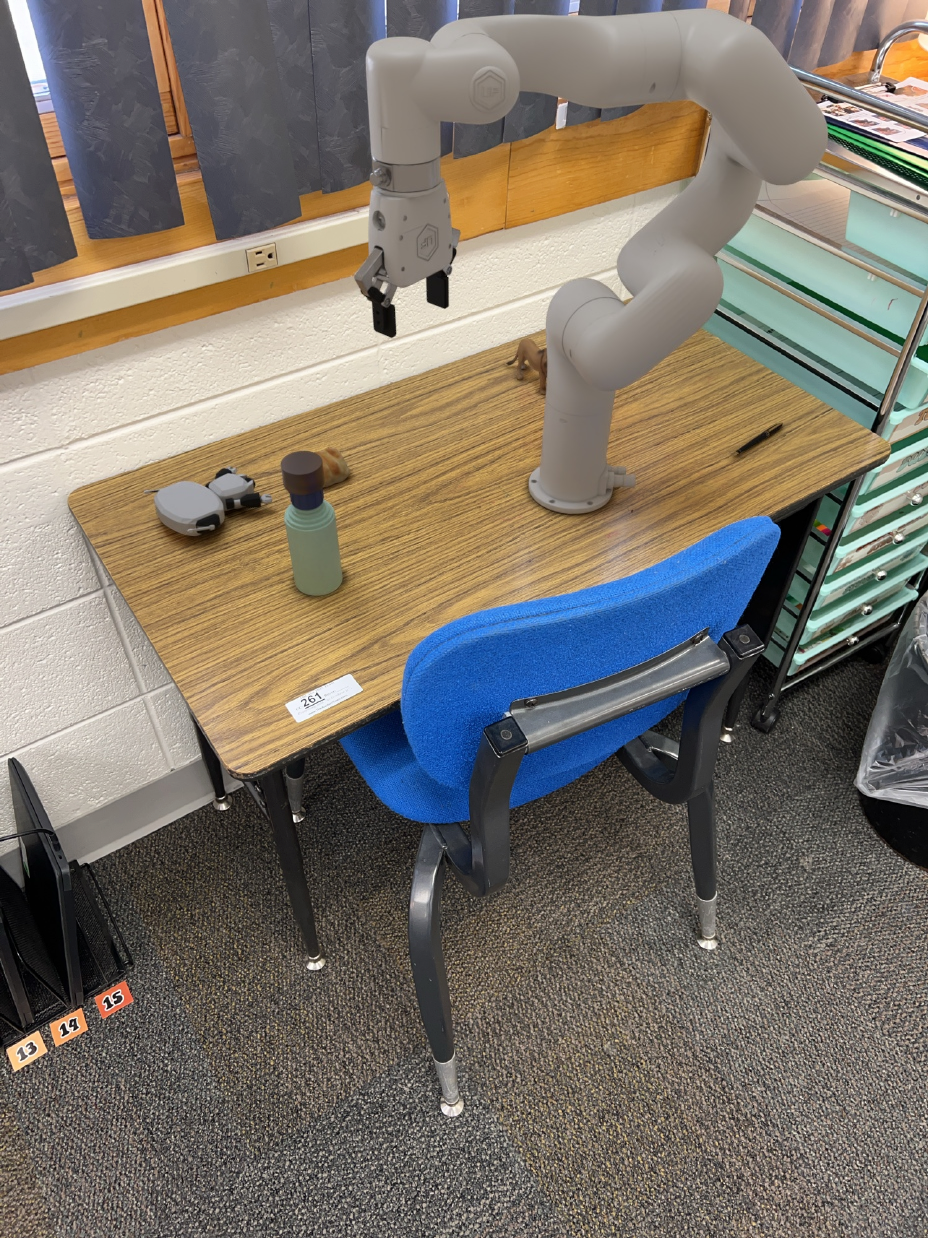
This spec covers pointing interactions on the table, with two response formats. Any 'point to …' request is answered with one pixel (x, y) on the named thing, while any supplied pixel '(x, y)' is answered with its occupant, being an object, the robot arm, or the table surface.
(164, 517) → the robot toy
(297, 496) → the cap
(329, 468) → the pastry
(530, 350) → the lion figurine
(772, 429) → the fountain pen
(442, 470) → the table surface
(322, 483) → the cylinder
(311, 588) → the bottle
